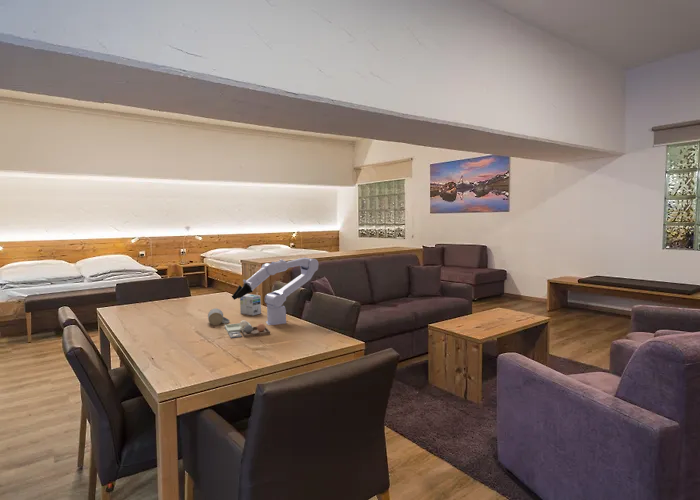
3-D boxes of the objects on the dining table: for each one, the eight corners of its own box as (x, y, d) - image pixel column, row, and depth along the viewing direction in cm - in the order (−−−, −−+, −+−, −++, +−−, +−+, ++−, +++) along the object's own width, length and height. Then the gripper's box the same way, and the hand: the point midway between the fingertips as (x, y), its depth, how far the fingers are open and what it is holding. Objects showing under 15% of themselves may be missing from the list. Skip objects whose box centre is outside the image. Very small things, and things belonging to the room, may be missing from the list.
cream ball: (247, 326, 209) (246, 318, 208) (248, 328, 205) (248, 320, 205) (239, 327, 207) (238, 319, 207) (240, 329, 203) (240, 321, 203)
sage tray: (248, 325, 213) (248, 322, 213) (253, 331, 202) (253, 327, 202) (224, 328, 208) (224, 324, 208) (228, 334, 197) (227, 330, 197)
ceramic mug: (208, 326, 210) (208, 312, 210) (208, 323, 218) (207, 308, 218) (230, 325, 214) (230, 310, 214) (228, 321, 222) (228, 307, 221)
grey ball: (252, 331, 200) (251, 323, 199) (253, 333, 196) (253, 325, 196) (243, 332, 198) (243, 324, 198) (245, 334, 194) (244, 326, 194)
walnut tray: (264, 328, 206) (264, 325, 206) (270, 335, 195) (270, 331, 195) (240, 331, 201) (240, 328, 201) (244, 338, 190) (244, 334, 190)
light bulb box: (261, 313, 239) (261, 295, 238) (253, 315, 233) (252, 297, 232) (248, 311, 245) (248, 293, 244) (239, 313, 239) (239, 295, 238)
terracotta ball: (264, 330, 202) (264, 322, 202) (266, 332, 199) (266, 324, 198) (256, 331, 201) (255, 323, 200) (257, 333, 197) (257, 325, 197)
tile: (239, 333, 198) (239, 331, 198) (241, 338, 191) (241, 335, 191) (228, 334, 196) (228, 332, 196) (230, 339, 189) (230, 336, 189)
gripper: (246, 275, 213) (226, 292, 206) (255, 272, 201) (233, 289, 194) (255, 286, 215) (235, 303, 208) (264, 283, 202) (243, 301, 196)
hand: (235, 297), depth 201 cm, fingers open, 7 cm apart
